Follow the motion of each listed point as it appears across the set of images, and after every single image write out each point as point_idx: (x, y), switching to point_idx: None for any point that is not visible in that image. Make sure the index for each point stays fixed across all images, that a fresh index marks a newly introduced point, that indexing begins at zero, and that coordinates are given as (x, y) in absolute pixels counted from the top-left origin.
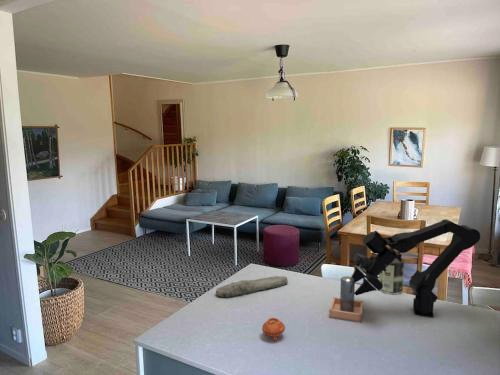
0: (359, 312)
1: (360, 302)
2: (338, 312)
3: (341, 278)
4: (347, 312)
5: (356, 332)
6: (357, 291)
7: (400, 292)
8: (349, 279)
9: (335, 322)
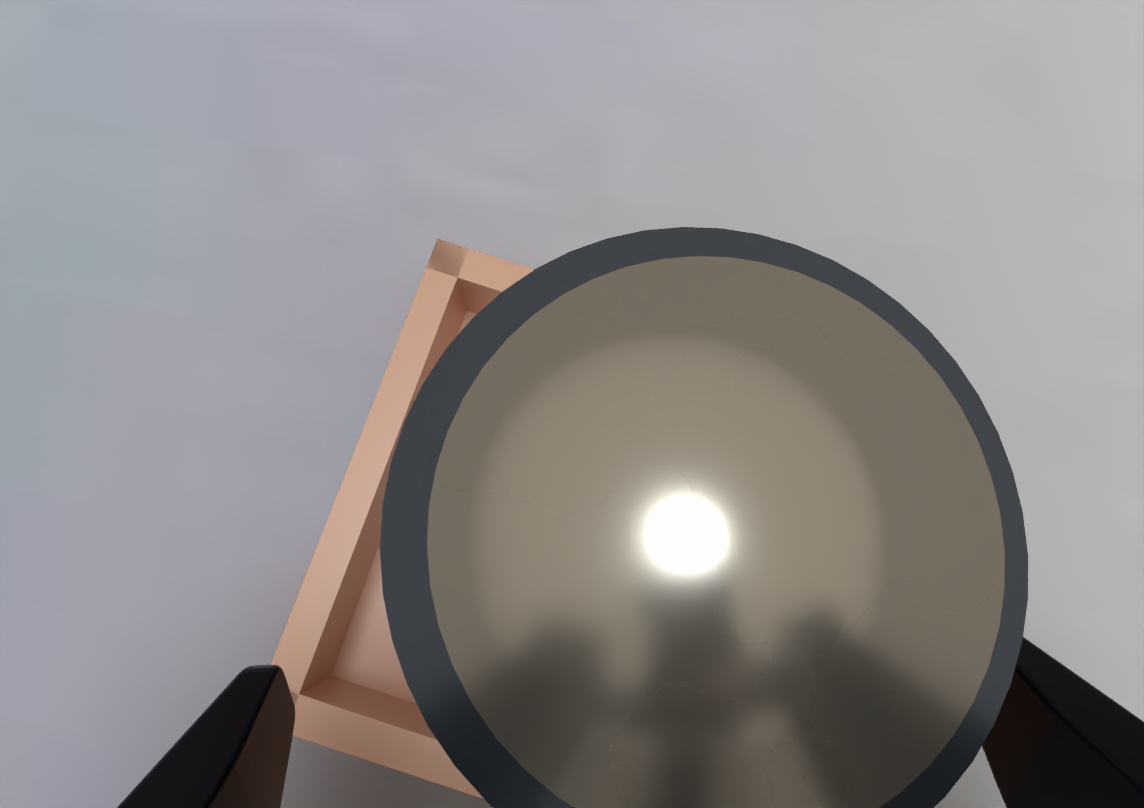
0: (335, 707)
1: None
2: (392, 369)
3: (787, 265)
4: (345, 498)
5: (38, 560)
6: (164, 780)
7: None
8: (602, 586)
9: (321, 339)
